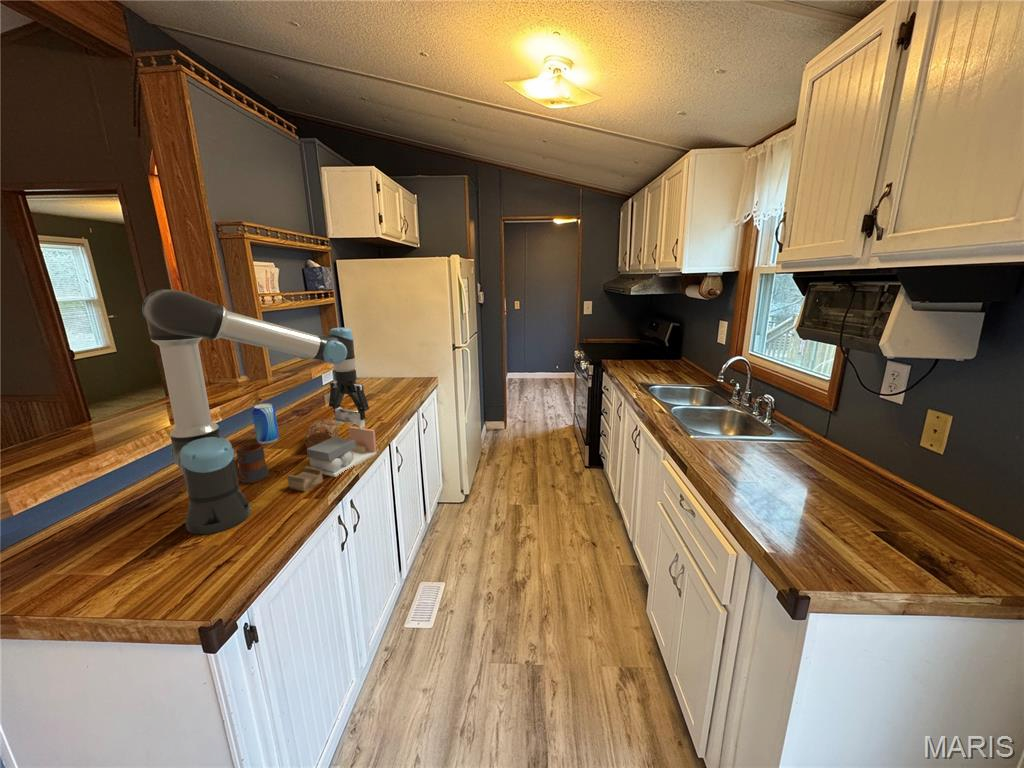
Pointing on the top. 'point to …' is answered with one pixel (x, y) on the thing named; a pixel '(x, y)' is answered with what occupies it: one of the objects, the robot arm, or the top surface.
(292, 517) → the top surface
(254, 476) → the mug
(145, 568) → the top surface
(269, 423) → the beer can
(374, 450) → the roller bed
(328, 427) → the bread
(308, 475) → the rack
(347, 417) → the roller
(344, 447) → the slab
